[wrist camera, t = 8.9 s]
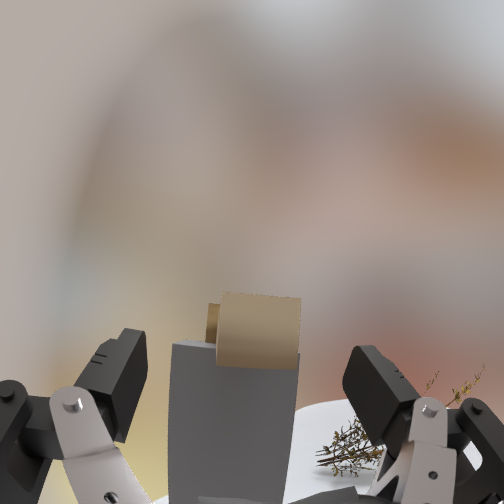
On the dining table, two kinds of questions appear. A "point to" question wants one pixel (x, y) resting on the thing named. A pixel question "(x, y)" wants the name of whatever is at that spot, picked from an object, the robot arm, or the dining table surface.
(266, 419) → the plinth
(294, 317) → the hanging bar
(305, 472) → the dining table surface
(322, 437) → the dining table surface
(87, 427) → the robot arm
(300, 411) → the dining table surface
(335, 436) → the dried plant
